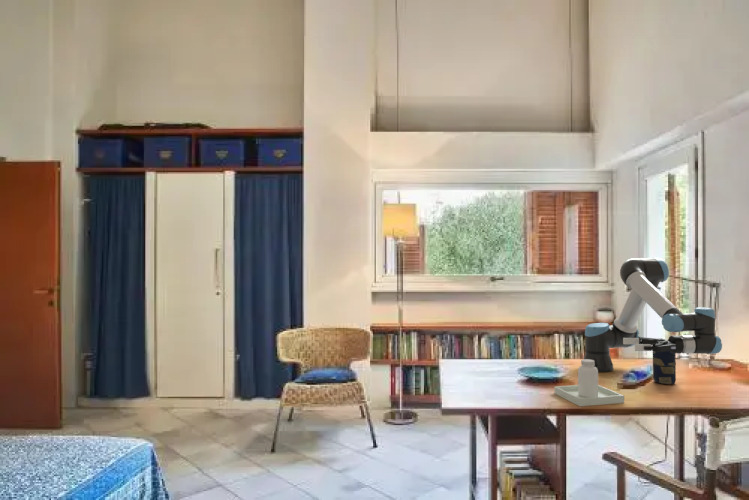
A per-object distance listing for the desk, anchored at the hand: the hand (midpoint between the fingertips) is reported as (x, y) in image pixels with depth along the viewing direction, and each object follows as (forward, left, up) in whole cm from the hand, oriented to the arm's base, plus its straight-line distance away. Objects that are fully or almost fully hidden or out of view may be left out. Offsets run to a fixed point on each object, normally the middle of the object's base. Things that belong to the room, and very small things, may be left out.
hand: (629, 344), depth 240 cm
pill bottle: (-1, -19, -21) cm, 29 cm away
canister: (-15, +29, -22) cm, 39 cm away
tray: (-1, -19, -22) cm, 29 cm away
